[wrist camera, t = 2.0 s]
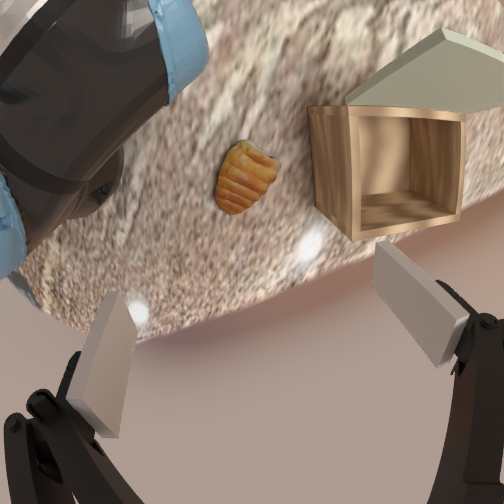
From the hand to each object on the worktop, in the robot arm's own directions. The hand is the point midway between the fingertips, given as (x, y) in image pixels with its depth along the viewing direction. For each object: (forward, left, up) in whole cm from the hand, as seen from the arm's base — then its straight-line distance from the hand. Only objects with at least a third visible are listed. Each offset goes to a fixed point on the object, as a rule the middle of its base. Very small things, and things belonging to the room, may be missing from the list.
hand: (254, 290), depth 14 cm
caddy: (+20, +1, -26) cm, 33 cm away
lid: (+20, +8, -14) cm, 26 cm away
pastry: (-1, 0, -27) cm, 27 cm away
